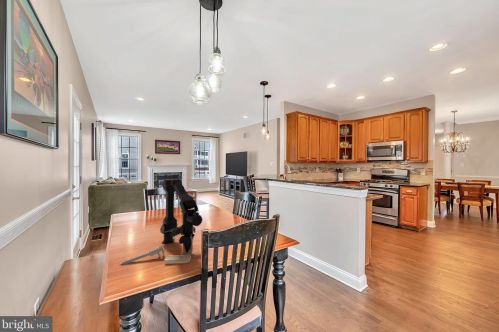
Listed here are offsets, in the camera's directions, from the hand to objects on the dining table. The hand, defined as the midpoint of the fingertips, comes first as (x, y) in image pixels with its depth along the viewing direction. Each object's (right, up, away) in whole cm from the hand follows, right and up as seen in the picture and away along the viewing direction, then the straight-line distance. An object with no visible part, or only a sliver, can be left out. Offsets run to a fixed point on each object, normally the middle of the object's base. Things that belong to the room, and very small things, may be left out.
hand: (187, 250), depth 113 cm
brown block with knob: (0, -1, 0) cm, 1 cm away
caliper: (-21, -3, -6) cm, 22 cm away
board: (-3, -3, -7) cm, 8 cm away
